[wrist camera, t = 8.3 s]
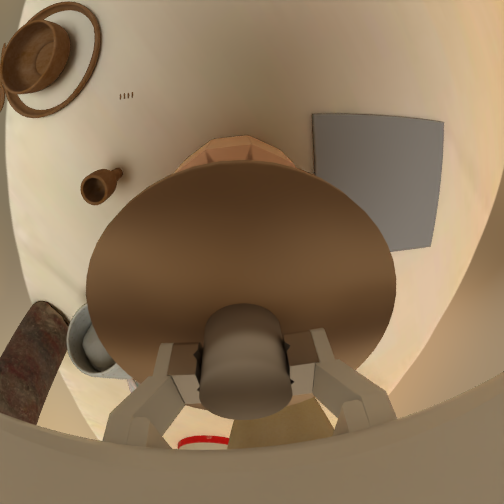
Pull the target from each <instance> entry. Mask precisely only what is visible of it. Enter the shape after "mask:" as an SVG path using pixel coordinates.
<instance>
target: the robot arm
mask: <svg viewBox="0 0 504 504" xmlns="http://www.w3.org/2000/svg"><path fill="white" fill-rule="evenodd" d="M283 345H284V351H285V355H286V360H287V367H288V372H289V377H290V381H291V387H292V393H293V395H301V394H308V393H313V395H314V396H315V397H316V398H317V399H318V400H319V401H320V402H321V403H322V404H323V405H324V406H325V407H326V408H327V409H329V410H330V411H331V412H332V413H333V414H334V415H335V416H336V417H337V418H338V421H337V424H336V427H335V430H334V433H333V436H332V437H327V438H322V439H316V440H311V441H305V442H298V443H291V444H284V445H276V446H267V447H256V448H242V449H219V450H188V449H172V448H171V447H170V446H169V444H168V443H167V442H166V441H165V440H164V438H163V437H162V436H163V434H164V433H165V432H166V430H167V429H168V428H169V426H170V425H171V424H172V422H173V421H174V419H175V418H176V417H177V415H178V414H179V413H180V411H181V410H182V409H183V407H184V406H185V404H197V403H201V402H200V399H199V390H200V377H201V365H202V354H203V347H202V344H201V342H182V343H162V344H161V345H160V346H159V350H158V355H157V359H156V363H155V367H154V372H153V376H148V377H147V378H146V379H145V380H144V381H143V382H142V383H141V384H140V385H139V386H138V387H137V388H136V389H135V390H134V391H133V392H132V393H131V394H130V395H129V396H128V397H126V398H125V399H124V400H123V401H122V402H121V403H120V404H119V405H118V406H117V407H116V408H115V409H114V410H113V411H112V412H111V413H110V414H109V418H108V422H107V425H106V429H105V433H104V437H103V441H99V440H93V439H87V438H83V437H78V436H74V435H70V434H65V433H61V432H57V431H54V430H50V429H47V428H43V427H40V426H37V425H33V424H30V423H27V422H24V421H21V420H18V419H16V418H13V417H10V416H8V415H5V414H2V413H0V504H504V371H503V372H502V373H500V374H498V375H497V376H495V377H493V378H491V379H489V380H487V381H486V382H484V383H482V384H480V385H478V386H476V387H474V388H472V389H470V390H468V391H466V392H464V393H462V394H460V395H457V396H455V397H453V398H451V399H448V400H446V401H444V402H441V403H439V404H437V405H434V406H432V407H429V408H427V409H424V410H421V411H419V412H416V413H413V414H410V415H408V416H405V417H402V418H399V419H397V417H396V415H395V412H394V410H393V407H392V405H391V403H390V400H389V398H388V395H387V393H386V391H385V390H383V389H382V388H380V387H379V386H377V385H376V384H374V383H373V382H372V381H370V380H369V379H367V378H366V377H364V376H363V375H361V374H360V373H358V372H357V371H355V370H354V369H353V368H351V367H350V366H348V365H347V364H345V363H344V362H342V361H341V360H340V359H337V360H335V358H334V355H333V352H332V349H331V346H330V344H329V341H328V338H327V335H326V332H325V330H324V329H323V328H318V329H312V330H306V331H299V332H292V333H285V334H283ZM293 395H292V396H293Z"/></svg>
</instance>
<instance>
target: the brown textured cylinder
mask: <svg viewBox="0 0 504 504" xmlns="http://www.w3.org/2000/svg"><path fill="white" fill-rule="evenodd" d="M67 332H68V326H67V325H66V323H65V322H64V320H63V318H62V316H61V315H60V314H59V313H57V312H56V311H55V310H54V309H53V308H52V307H51V306H50V305H49V304H48V303H46V302H37V303H35V304H33V305H32V307H31V308H30V310H29V311H28V312H27V314H26V315H25V317H24V318H23V320H22V322H21V323H20V325H19V326H18V328H17V330H16V331H15V333H14V335H13V336H12V338H11V340H10V342H9V344H8V345H7V347H6V349H5V351H4V352H3V354H2V356H1V357H0V413H2V414H5V415H8V416H10V417H13V418H16V419H18V420H21V421H24V422H27V423H30V424H33V425H36V424H37V422H38V418H39V415H40V413H41V410H42V408H43V405H44V402H45V400H46V397H47V395H48V392H49V390H50V388H51V385H52V383H53V381H54V378H55V376H56V374H57V371H58V369H59V367H60V365H61V362H62V360H63V358H64V356H65V353H66V351H67Z"/></svg>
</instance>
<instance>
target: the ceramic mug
mask: <svg viewBox="0 0 504 504" xmlns="http://www.w3.org/2000/svg"><path fill="white" fill-rule="evenodd" d="M67 349H68V353H69V356H70V358H71V360H72V362H73V364H74V365H75V366H76V367H77V368H78V369H79V370H80V371H81V372H83V373H84V374H86V375H89V376H92V377H102V378H115V379H132V377H131V376H129V375H128V374H127V373H126V372H125V371H124V370H123V369H122V368H121V367H120V366H119V365H118V364H117V363H116V362H115V361H114V360H113V358H112V357H111V356H110V355H109V354H108V352H107V351H106V349H105V348H104V346H103V345H102V343H101V342H100V340H99V338H98V336H97V334H96V332H95V329H94V327H93V325H92V322H91V318H90V315H89V311H88V305H87V303H86V304H84V305H83V306H82V307H81V308H80V309H79V310H78V311H77V312H76V313H75V315H74V316H73V318H72V320H71V322H70V324H69V327H68V332H67Z"/></svg>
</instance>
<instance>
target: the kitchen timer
mask: <svg viewBox="0 0 504 504" xmlns="http://www.w3.org/2000/svg"><path fill="white" fill-rule="evenodd" d="M228 442H229V438H225V437H219V436H192V437H187V438H184V439H182V440H181V441H180V442H179V443H178V449H188V450H219V449H227V447H228Z"/></svg>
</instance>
